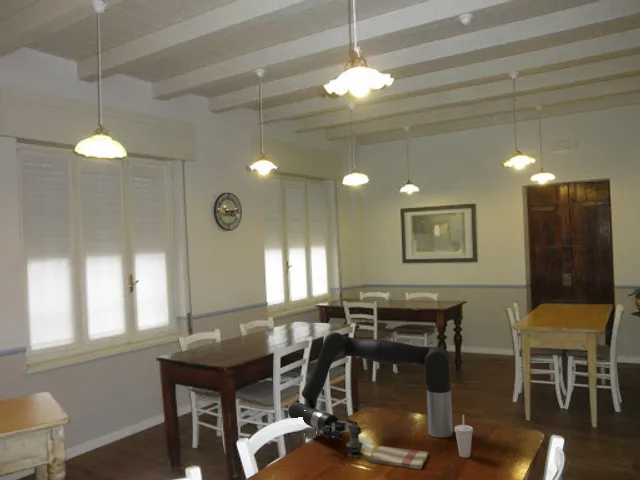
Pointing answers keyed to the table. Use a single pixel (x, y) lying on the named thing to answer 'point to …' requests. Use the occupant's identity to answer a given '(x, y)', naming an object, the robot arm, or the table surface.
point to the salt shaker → (354, 442)
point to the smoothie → (464, 439)
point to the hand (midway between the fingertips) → (351, 433)
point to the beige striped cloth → (399, 457)
